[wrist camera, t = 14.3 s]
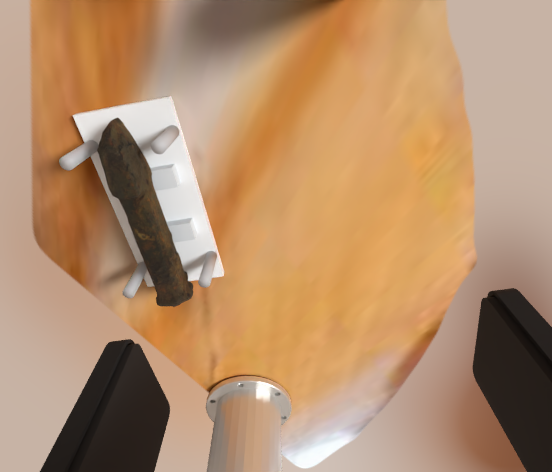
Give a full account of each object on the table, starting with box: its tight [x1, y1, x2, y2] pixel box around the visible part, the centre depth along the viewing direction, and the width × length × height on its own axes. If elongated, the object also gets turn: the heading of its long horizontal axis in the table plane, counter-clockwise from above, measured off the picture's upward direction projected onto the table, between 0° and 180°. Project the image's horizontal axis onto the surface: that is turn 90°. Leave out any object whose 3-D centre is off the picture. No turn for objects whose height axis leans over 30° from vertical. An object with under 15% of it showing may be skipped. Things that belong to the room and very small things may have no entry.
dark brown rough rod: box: [97, 118, 193, 307], centre depth 35 cm, size 19×4×5 cm, turn 7°
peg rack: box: [59, 96, 224, 298], centre depth 36 cm, size 20×9×6 cm, turn 10°
